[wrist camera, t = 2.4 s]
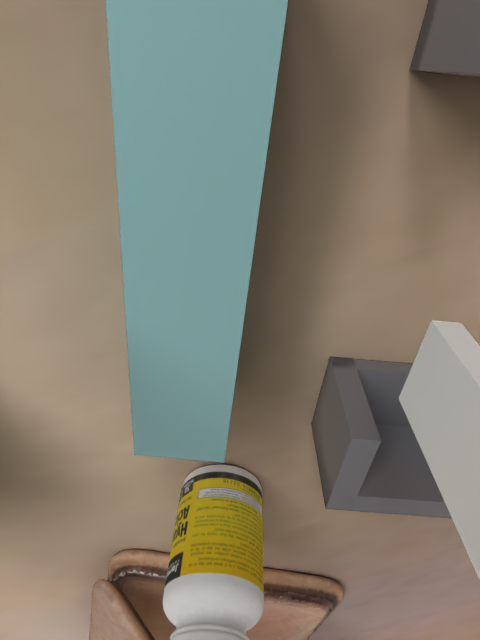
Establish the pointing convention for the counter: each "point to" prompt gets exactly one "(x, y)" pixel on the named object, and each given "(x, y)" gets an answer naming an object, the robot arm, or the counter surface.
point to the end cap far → (371, 442)
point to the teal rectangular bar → (189, 203)
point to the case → (156, 629)
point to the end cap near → (449, 38)
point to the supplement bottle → (216, 556)
